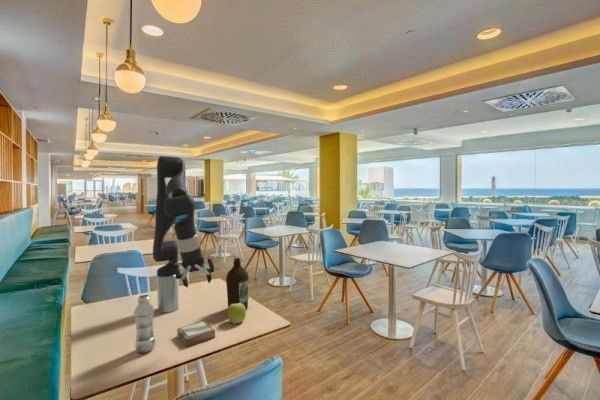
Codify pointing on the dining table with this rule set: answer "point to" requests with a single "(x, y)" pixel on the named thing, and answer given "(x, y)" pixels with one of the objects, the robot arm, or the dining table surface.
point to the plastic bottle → (144, 325)
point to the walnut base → (195, 333)
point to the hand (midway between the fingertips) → (198, 283)
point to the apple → (236, 313)
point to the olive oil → (237, 284)
